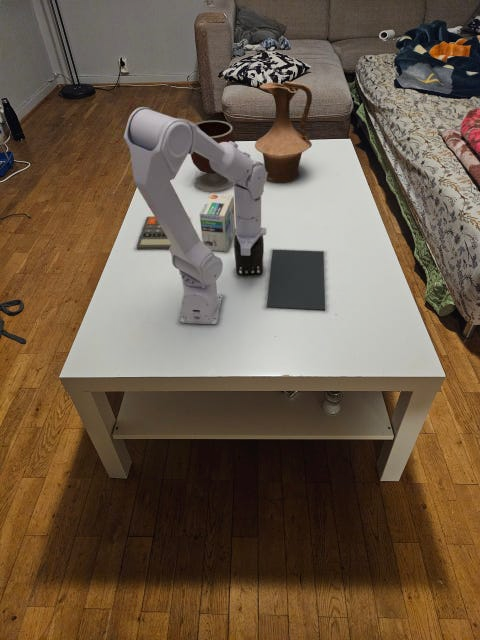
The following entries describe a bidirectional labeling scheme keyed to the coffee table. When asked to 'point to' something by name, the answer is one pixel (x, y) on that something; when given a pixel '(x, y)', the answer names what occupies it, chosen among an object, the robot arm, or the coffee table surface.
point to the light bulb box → (218, 222)
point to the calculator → (153, 236)
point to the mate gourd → (211, 179)
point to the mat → (297, 280)
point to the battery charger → (258, 261)
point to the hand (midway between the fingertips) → (249, 262)
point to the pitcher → (284, 134)
